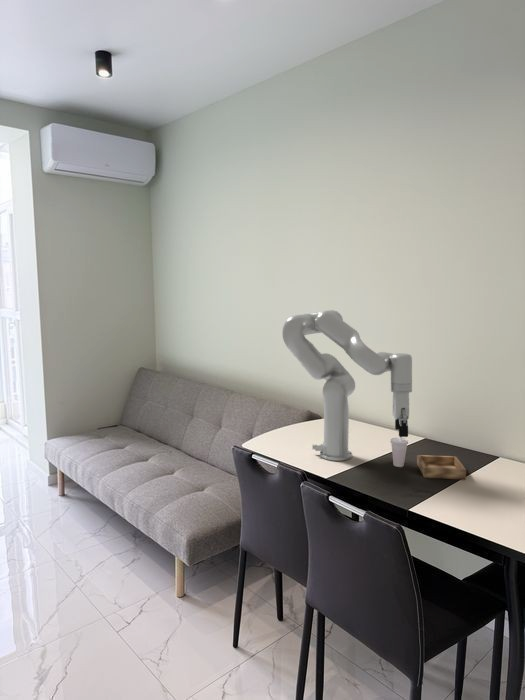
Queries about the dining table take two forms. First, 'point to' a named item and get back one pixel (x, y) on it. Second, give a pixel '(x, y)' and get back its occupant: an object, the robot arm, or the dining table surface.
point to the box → (441, 467)
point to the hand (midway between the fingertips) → (401, 432)
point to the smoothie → (399, 451)
